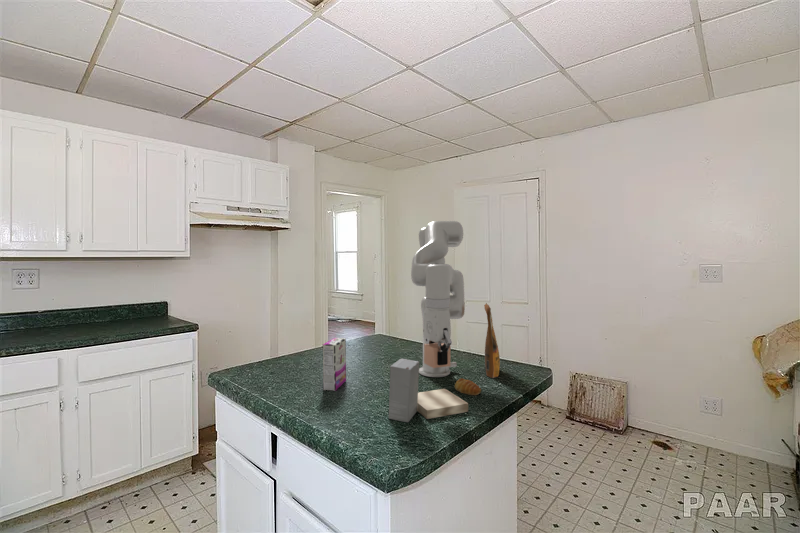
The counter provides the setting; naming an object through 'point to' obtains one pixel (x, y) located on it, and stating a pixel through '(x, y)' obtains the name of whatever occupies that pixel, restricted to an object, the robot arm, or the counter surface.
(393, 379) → the skincare box
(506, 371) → the counter surface
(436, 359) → the terracotta cube
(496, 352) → the pancake mix bag
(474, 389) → the pastry
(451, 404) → the birch board
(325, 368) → the candy bar box
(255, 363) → the counter surface
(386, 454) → the counter surface
